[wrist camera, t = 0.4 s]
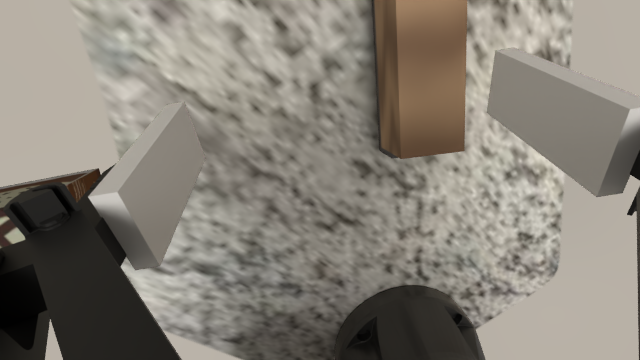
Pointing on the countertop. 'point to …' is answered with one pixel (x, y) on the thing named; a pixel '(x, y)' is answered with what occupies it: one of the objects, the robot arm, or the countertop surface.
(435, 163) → the countertop surface
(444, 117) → the brown block
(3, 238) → the food container
